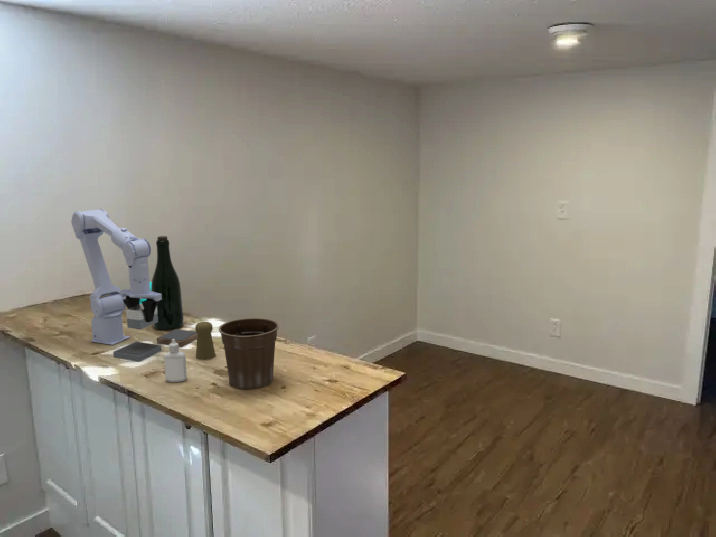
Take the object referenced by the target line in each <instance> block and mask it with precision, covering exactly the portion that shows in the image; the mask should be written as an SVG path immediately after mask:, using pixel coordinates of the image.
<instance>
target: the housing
mask: <svg viewBox="0 0 716 537" xmlns="http://www.w3.org/2000/svg"><path fill="white" fill-rule="evenodd" d="M125 313H126V323H127V324H126V325H127V328H128V329H132V330H133V329H135V330H143V329H145V328H147V327H150V326H152V325H153V324H155V323H157V322H158V314H157V306H156V309H155V312H154V317H153V321H151V322H147V321H146V315H145V310H144V307H143V305H142V303H141V304H139V305H136V306H133V307H130V308H125Z"/></svg>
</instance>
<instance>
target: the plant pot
mask: <svg viewBox="0 0 716 537" xmlns="http://www.w3.org/2000/svg"><path fill="white" fill-rule="evenodd" d="M279 326H280V324H279V323H278V322H277V321H276V320H272V319H268V318H264V317H263V318H261V317H250V318H246V317H245V318H239V319H238V318H237V319H234V320H230V321H227V322H224V323H223V324H221V325H220V326H219V327H218V331H219V334H220V336H221V342H222V345H223V347H224V348H223V349H224V355H225V362H226V369H227V376H228V383H229V384H230V385H231V386H232V387H233V388H235V389H241V390H253V389H258V387H262V388H264V387H266V386H268V385H270V384H271V383H272V382H273V380H274V369H275V366H274V365H275V354H276V353H275V352H276V351H275V350H276V342H277V338H278V336H277V335H278V330H279Z"/></svg>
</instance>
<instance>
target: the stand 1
mask: <svg viewBox="0 0 716 537" xmlns="http://www.w3.org/2000/svg"><path fill="white" fill-rule="evenodd" d="M162 349H163V348H162V344H161V345H160V344H157V343H156V344H154V343H147V342H143V341H134V342H132V343H130V344H128V345H125V346H123V347H121V348H118V349H117V350H114V351H113V358H114V359H115V358H116V359H120V360H121V359H122V360H127V361H134V362H138V363H139V362H140V363H141V362H142V361H144V360H146V359H148V358H150V357H151V356H153V355H156V354H158V353H160V352H162Z"/></svg>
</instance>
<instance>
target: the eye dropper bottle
mask: <svg viewBox="0 0 716 537" xmlns="http://www.w3.org/2000/svg"><path fill="white" fill-rule="evenodd" d="M168 346H169V351H168V352H166V353H165V354H164V355H163V362H164V375H165V376H164V377H165V381H166V382H168V383H179V382H184V381H186V379H187V378H188V374H187V373H188V372H187V360H186V353H185V352H184V351H183V352H182V351H180V350H179V349H180V347H179V345H178V343H176V342H175V339H172V343H171V344H169V345H168Z"/></svg>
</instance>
